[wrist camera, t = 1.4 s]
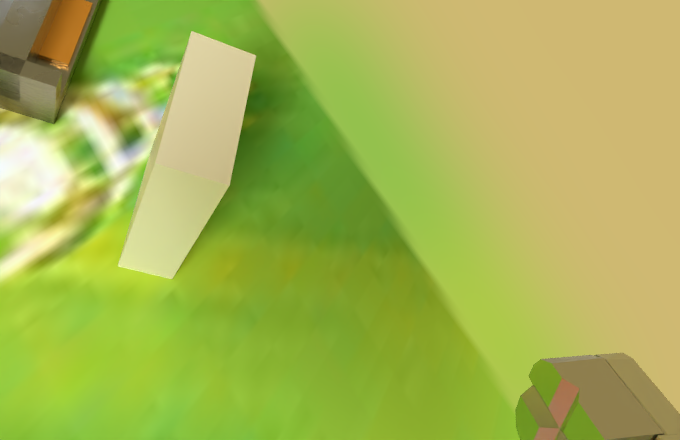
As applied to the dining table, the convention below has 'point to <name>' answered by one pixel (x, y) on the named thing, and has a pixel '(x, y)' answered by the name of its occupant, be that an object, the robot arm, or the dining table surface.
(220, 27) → the dining table surface
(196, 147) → the beige rectangular block
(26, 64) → the rack
